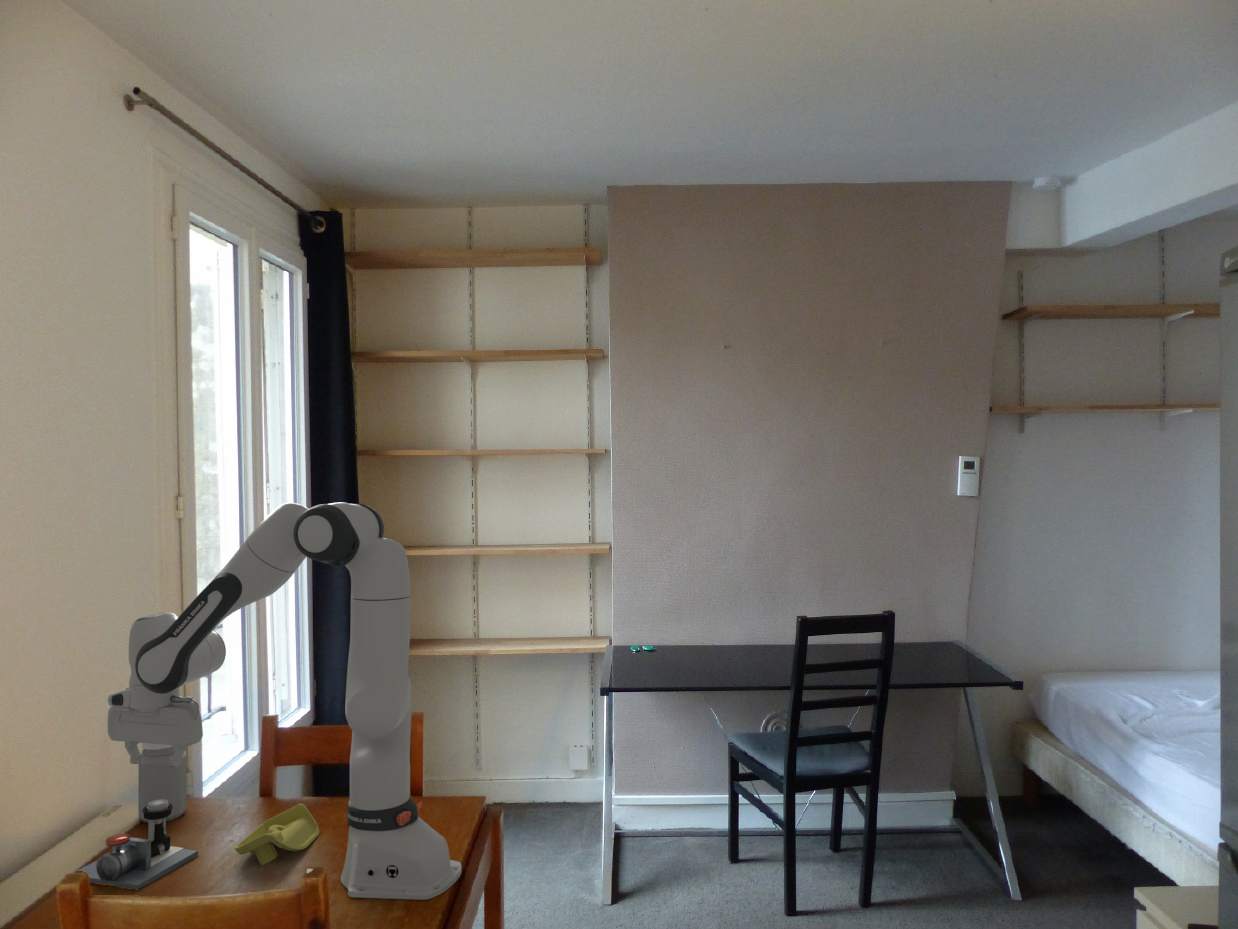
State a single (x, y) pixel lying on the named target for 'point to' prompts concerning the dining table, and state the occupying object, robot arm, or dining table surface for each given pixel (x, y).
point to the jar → (161, 779)
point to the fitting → (124, 856)
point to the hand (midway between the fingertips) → (155, 764)
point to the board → (139, 878)
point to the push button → (158, 825)
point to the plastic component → (281, 834)
